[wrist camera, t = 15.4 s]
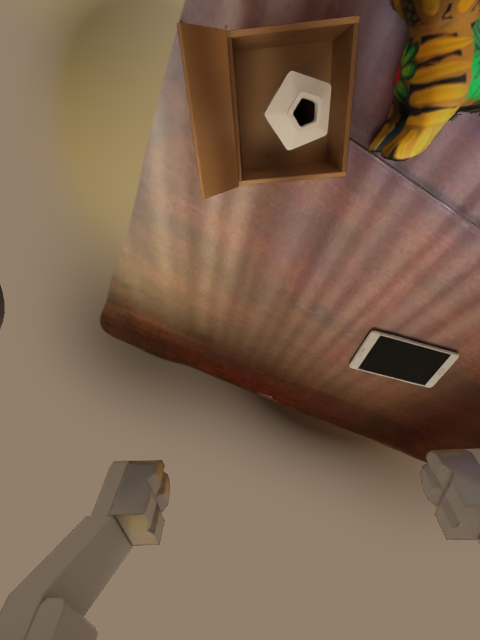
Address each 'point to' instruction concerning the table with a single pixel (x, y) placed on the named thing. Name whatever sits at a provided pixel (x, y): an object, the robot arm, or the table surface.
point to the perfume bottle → (299, 110)
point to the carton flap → (210, 106)
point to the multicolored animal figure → (432, 74)
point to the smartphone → (402, 359)
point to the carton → (267, 75)
